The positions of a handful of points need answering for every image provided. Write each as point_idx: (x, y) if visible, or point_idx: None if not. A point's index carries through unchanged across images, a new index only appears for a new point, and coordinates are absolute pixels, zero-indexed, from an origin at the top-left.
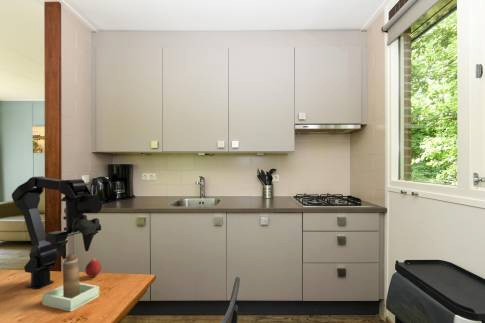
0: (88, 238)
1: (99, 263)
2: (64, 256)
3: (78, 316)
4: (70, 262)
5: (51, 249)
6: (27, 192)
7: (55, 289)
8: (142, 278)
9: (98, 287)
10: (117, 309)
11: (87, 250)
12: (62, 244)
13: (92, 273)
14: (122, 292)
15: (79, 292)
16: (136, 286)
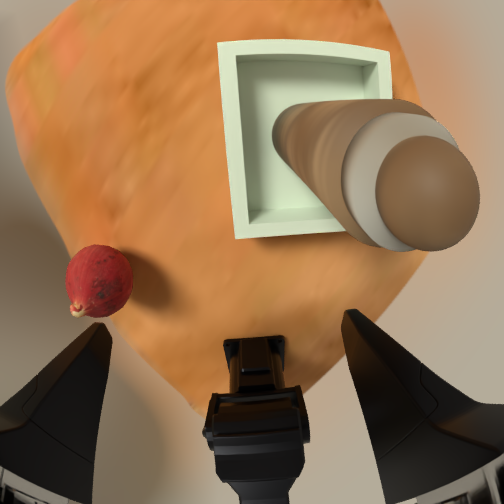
0: (45, 426)
1: (68, 275)
2: (372, 323)
3: (374, 11)
4: (450, 139)
5: (240, 457)
6: None
7: (336, 223)
8: (28, 70)
9: (222, 42)
10: None
11: (100, 326)
12: (500, 406)
13: (117, 253)
14: (150, 4)
15: (286, 110)
16: (86, 14)
